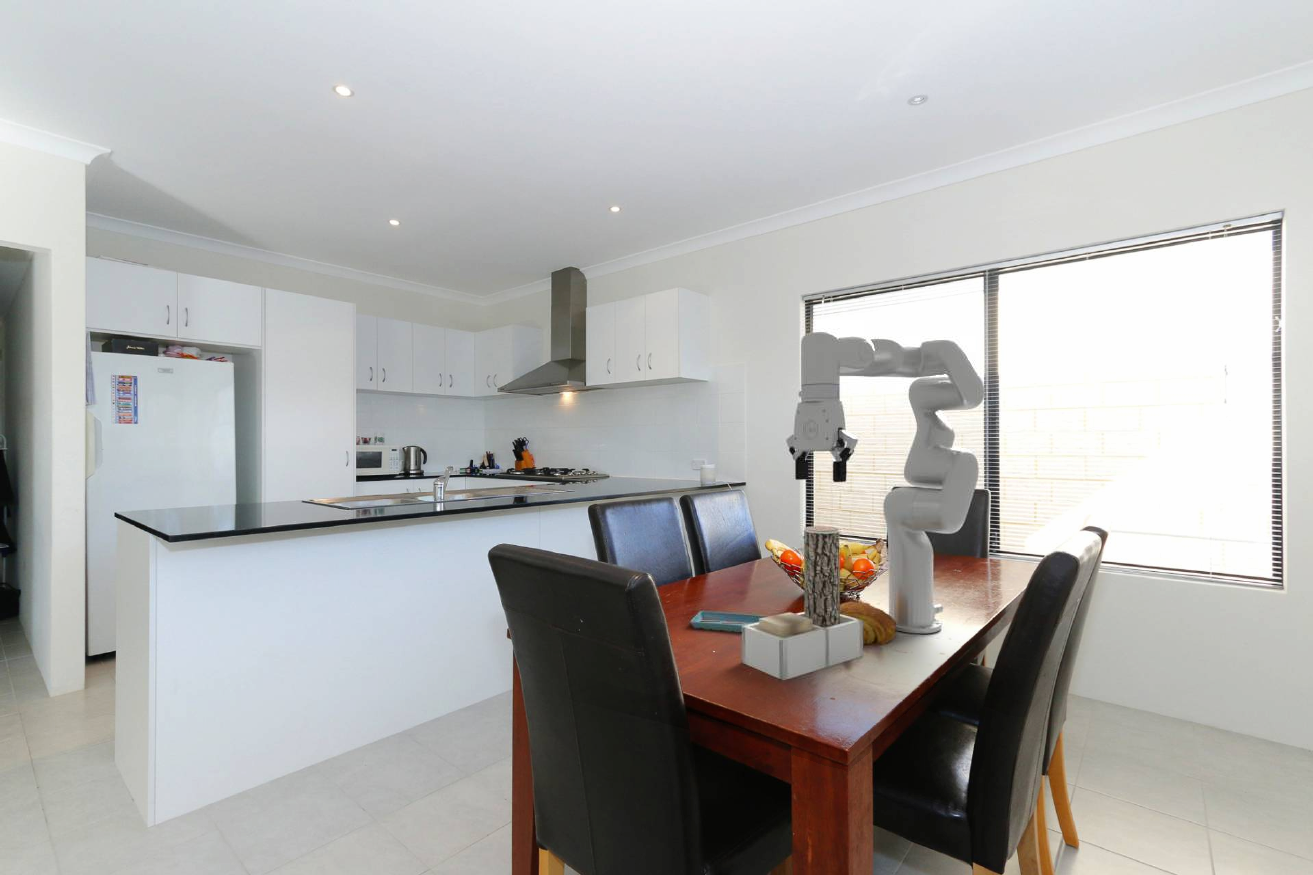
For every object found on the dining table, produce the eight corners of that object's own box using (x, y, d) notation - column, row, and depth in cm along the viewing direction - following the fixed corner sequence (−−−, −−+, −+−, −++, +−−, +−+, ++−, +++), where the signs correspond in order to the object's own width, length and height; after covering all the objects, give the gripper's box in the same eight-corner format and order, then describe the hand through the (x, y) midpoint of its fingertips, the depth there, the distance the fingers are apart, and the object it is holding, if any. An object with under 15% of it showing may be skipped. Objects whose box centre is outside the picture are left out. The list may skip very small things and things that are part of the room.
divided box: (819, 641, 133) (819, 608, 133) (863, 655, 124) (862, 620, 124) (741, 662, 121) (741, 625, 121) (783, 680, 112) (783, 640, 112)
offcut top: (789, 627, 124) (789, 612, 124) (812, 635, 119) (812, 619, 119) (759, 634, 120) (759, 618, 120) (781, 642, 114) (780, 626, 114)
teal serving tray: (689, 630, 143) (689, 619, 143) (700, 619, 151) (700, 609, 151) (807, 641, 134) (807, 630, 134) (811, 629, 143) (811, 618, 143)
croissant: (819, 650, 134) (817, 614, 133) (838, 621, 148) (836, 588, 147) (890, 660, 127) (888, 622, 126) (903, 629, 140) (901, 594, 139)
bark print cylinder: (798, 651, 127) (797, 527, 127) (824, 646, 130) (823, 525, 130) (820, 661, 121) (819, 531, 121) (847, 656, 124) (846, 529, 124)
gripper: (775, 396, 130) (775, 479, 130) (842, 391, 116) (842, 483, 116) (800, 398, 135) (800, 478, 135) (868, 393, 120) (868, 482, 120)
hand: (820, 480), depth 125 cm, fingers open, 9 cm apart
